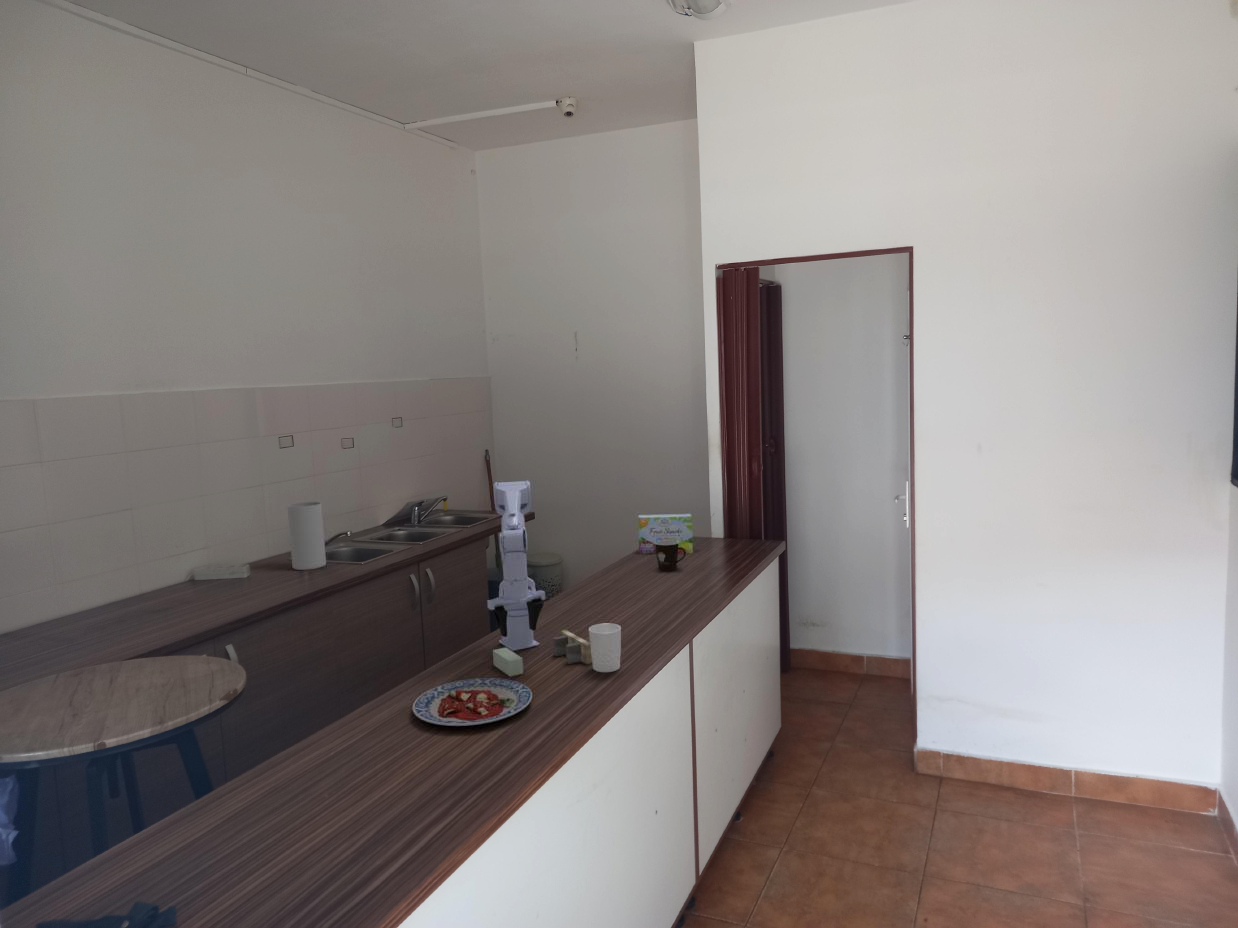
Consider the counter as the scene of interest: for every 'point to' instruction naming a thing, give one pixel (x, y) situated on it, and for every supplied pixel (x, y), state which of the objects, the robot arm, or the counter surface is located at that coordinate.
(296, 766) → the counter surface
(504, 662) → the block
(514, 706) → the ceramic plate
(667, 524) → the snack box
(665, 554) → the coffee mug
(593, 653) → the white cup
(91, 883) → the counter surface
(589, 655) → the wooden base
